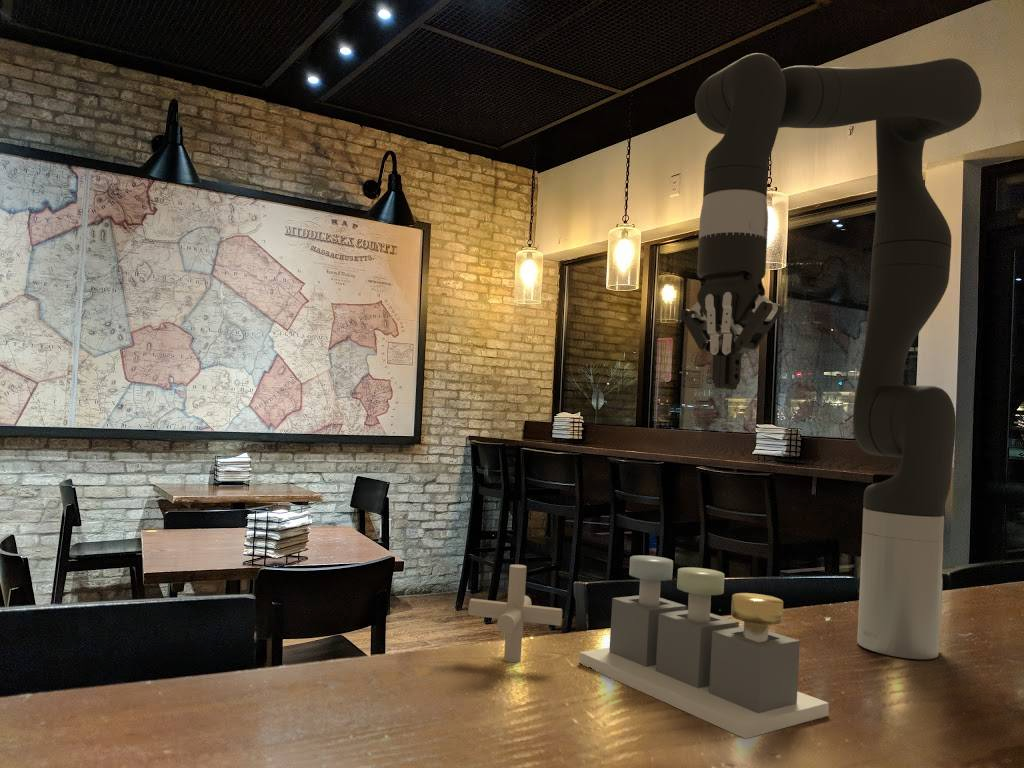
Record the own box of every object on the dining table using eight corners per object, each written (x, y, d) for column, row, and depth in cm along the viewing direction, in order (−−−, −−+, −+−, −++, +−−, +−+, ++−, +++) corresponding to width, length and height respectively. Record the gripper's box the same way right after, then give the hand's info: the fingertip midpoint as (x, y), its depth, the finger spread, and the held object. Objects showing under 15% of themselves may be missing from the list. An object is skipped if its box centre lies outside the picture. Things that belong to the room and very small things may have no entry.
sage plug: (694, 645, 83) (699, 566, 84) (729, 658, 79) (734, 575, 80) (663, 651, 81) (668, 568, 81) (698, 664, 77) (703, 578, 77)
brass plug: (748, 677, 77) (753, 591, 78) (789, 692, 74) (793, 602, 74) (717, 683, 75) (721, 595, 75) (757, 699, 71) (762, 606, 71)
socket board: (658, 650, 92) (661, 590, 93) (828, 715, 74) (831, 640, 75) (579, 663, 85) (582, 597, 86) (745, 738, 67) (749, 655, 68)
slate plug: (647, 629, 89) (651, 554, 89) (677, 639, 85) (682, 562, 86) (616, 633, 86) (621, 556, 87) (647, 644, 83) (651, 564, 83)
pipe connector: (551, 680, 79) (557, 579, 80) (455, 667, 81) (461, 569, 82) (564, 652, 89) (569, 563, 90) (478, 641, 91) (484, 554, 92)
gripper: (803, 234, 87) (796, 392, 86) (709, 250, 98) (702, 390, 97) (760, 221, 83) (752, 387, 82) (666, 240, 93) (659, 386, 93)
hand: (725, 389), depth 90 cm, fingers closed
